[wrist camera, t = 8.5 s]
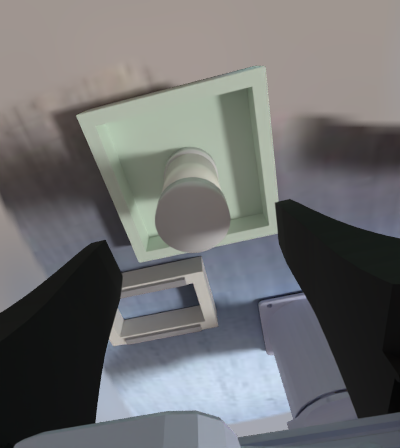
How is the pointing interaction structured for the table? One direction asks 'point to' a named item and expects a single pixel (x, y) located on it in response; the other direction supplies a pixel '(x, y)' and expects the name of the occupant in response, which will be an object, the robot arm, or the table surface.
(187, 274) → the holder
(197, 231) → the cylinder
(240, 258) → the table surface
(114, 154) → the parts tray
